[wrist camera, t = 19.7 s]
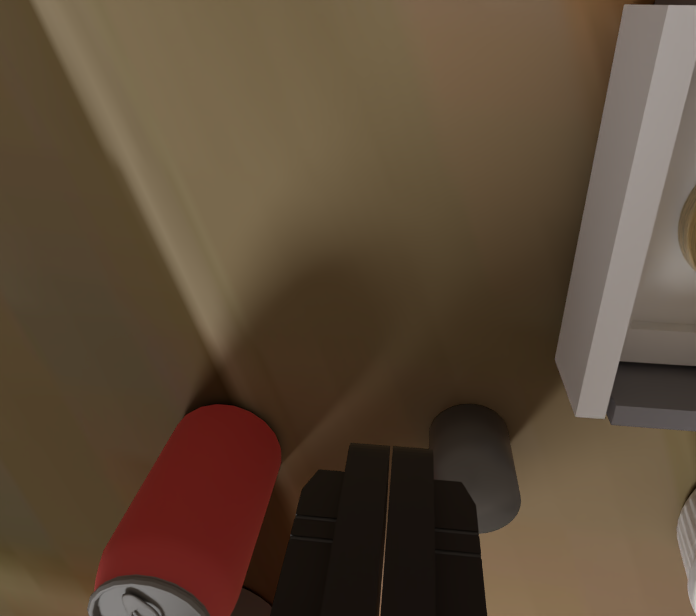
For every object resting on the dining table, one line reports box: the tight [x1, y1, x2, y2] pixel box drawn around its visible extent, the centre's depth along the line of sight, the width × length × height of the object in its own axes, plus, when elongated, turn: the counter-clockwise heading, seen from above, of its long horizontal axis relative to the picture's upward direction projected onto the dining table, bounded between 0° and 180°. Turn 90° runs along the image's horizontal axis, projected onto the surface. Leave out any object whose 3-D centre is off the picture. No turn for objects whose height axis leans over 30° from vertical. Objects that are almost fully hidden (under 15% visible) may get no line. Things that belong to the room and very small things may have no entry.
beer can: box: [87, 404, 281, 616], centre depth 31 cm, size 7×7×12 cm
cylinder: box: [429, 404, 521, 534], centre depth 32 cm, size 4×4×5 cm
